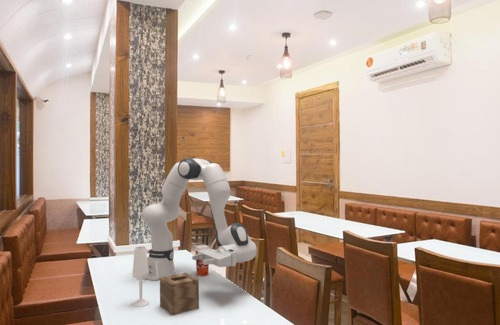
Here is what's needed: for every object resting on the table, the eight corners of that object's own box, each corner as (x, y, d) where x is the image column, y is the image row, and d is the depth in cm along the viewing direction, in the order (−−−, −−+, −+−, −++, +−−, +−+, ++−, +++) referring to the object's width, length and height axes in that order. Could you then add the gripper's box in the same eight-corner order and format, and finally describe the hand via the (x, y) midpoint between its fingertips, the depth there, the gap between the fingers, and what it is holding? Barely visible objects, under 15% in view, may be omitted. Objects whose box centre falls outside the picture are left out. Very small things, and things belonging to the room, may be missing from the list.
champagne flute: (142, 299, 167) (142, 245, 167) (152, 302, 162) (151, 247, 162) (129, 303, 161) (129, 247, 161) (138, 307, 157) (138, 250, 157)
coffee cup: (195, 277, 198) (195, 248, 198) (194, 272, 206) (193, 245, 206) (211, 275, 200) (211, 247, 200) (209, 271, 208) (208, 244, 208)
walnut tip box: (185, 299, 166) (185, 272, 166) (198, 308, 156) (198, 279, 156) (160, 305, 158) (159, 277, 159) (171, 315, 149) (171, 284, 149)
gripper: (213, 244, 179) (187, 248, 171) (237, 252, 162) (209, 257, 154) (213, 257, 179) (187, 262, 171) (237, 267, 162) (209, 272, 154)
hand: (197, 260), depth 162 cm, fingers open, 8 cm apart
